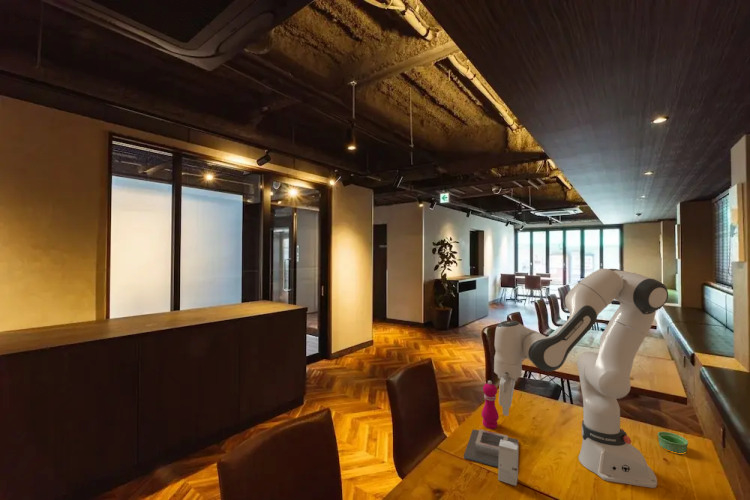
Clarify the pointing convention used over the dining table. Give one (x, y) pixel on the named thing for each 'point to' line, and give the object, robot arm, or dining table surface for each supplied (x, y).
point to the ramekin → (672, 442)
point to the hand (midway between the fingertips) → (507, 408)
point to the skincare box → (508, 462)
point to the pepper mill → (490, 406)
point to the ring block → (485, 447)
